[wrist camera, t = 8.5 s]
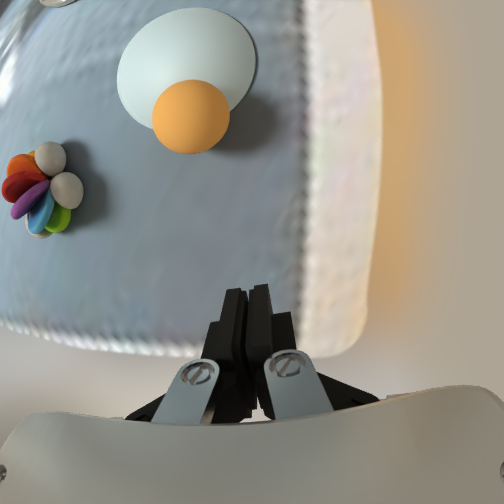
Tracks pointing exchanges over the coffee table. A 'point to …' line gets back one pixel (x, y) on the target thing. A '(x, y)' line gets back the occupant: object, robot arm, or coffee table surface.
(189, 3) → the coffee table surface
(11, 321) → the coffee table surface
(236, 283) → the coffee table surface
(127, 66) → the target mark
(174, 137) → the ball
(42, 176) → the multicolored petal flower toy
